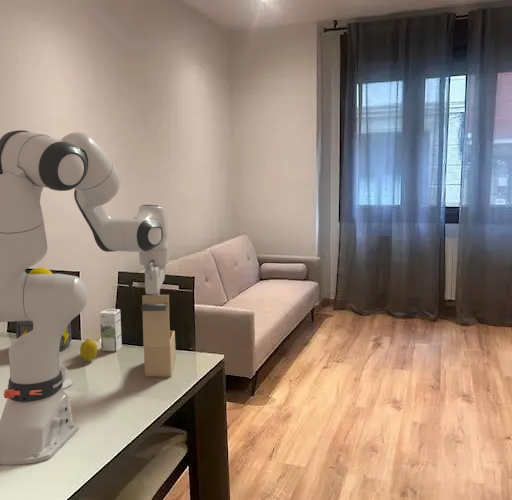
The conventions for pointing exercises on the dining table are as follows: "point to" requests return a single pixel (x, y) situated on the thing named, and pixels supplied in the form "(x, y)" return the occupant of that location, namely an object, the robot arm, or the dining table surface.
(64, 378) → the teacup
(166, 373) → the carton
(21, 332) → the decorative lamp
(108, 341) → the syrup box
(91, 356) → the lemon
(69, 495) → the dining table surface
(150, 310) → the lid flap
